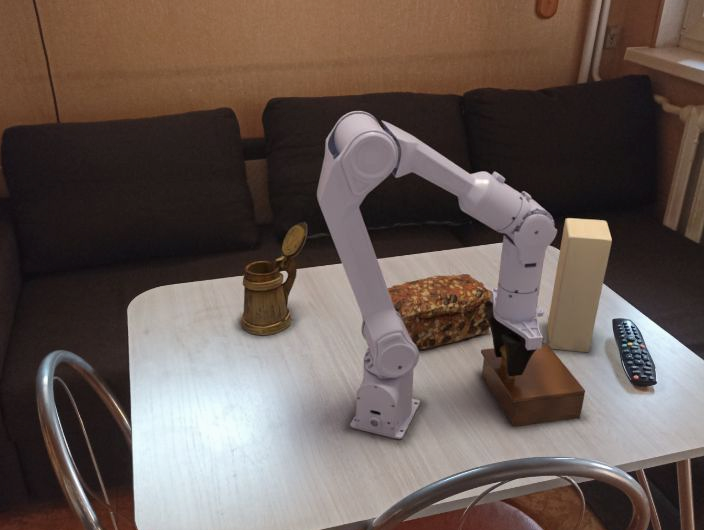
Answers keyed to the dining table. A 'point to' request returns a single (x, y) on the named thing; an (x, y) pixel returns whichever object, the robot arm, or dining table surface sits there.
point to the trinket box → (533, 404)
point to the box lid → (534, 376)
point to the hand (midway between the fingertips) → (508, 365)
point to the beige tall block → (578, 283)
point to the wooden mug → (271, 287)
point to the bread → (442, 309)
